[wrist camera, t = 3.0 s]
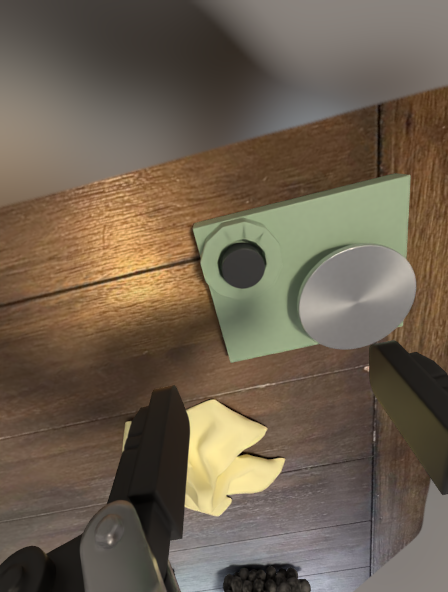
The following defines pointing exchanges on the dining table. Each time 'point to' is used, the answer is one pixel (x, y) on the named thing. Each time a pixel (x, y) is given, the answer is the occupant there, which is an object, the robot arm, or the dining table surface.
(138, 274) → the dining table surface
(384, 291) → the weighing plate
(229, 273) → the button
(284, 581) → the fruit
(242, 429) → the cloth
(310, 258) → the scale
